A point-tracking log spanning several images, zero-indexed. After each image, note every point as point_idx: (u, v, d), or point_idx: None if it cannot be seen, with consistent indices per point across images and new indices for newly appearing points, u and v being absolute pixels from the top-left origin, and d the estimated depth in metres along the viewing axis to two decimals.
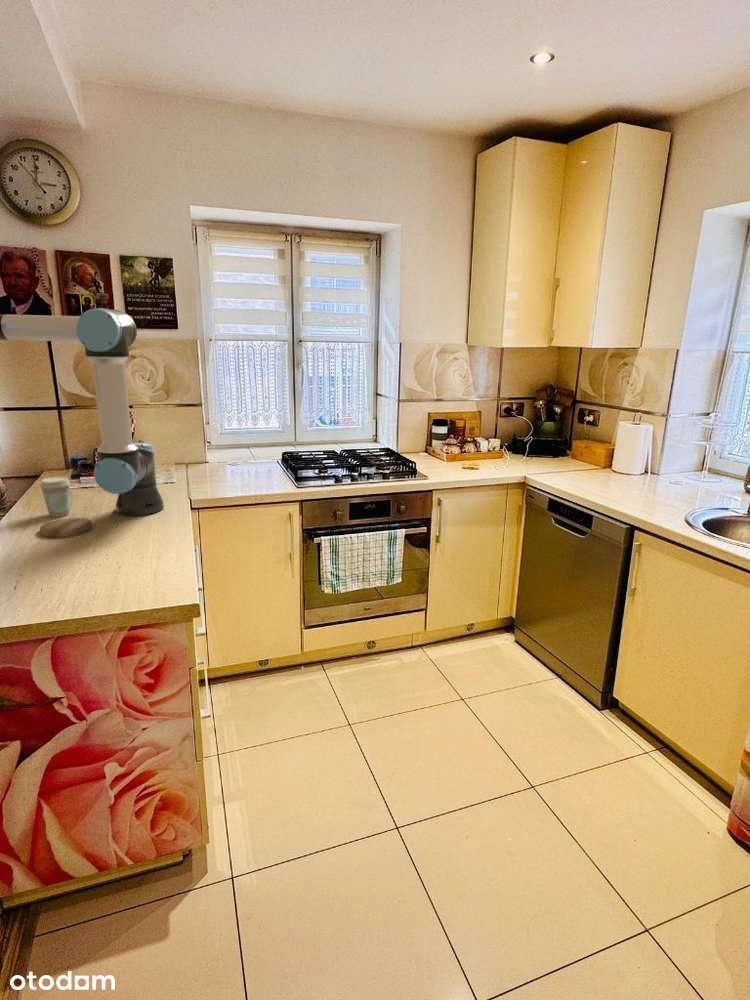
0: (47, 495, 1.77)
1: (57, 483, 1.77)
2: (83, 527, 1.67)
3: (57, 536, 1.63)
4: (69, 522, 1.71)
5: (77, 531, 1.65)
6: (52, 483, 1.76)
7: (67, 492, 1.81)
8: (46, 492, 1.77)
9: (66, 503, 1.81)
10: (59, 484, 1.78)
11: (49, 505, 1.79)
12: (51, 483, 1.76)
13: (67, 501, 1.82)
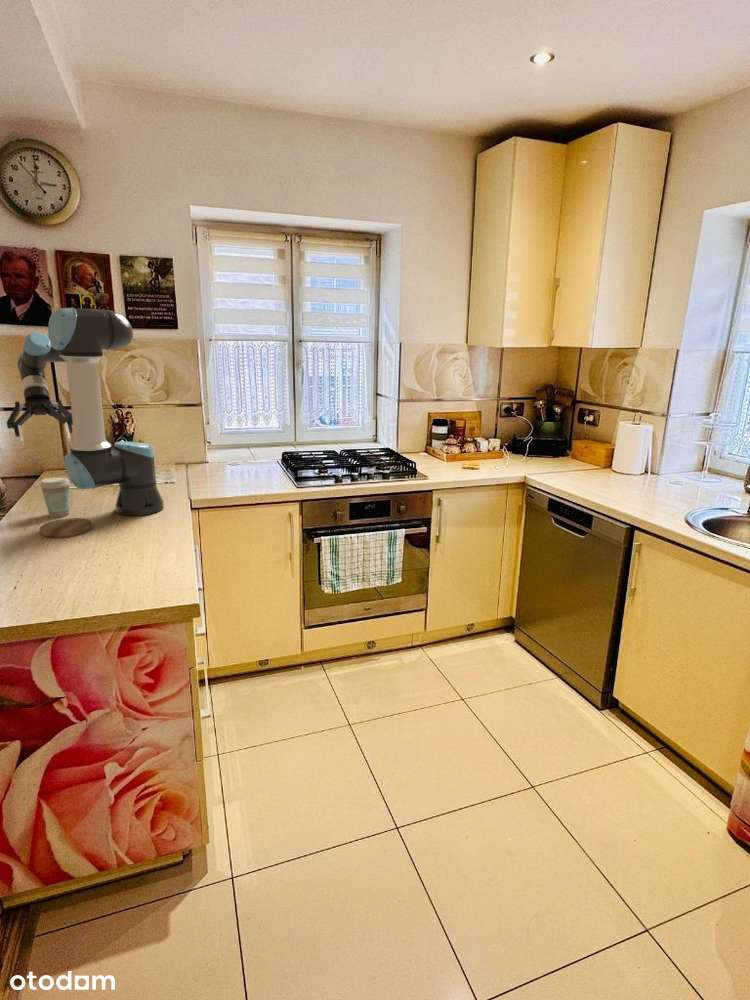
0: (47, 495, 1.77)
1: (57, 483, 1.77)
2: (83, 527, 1.67)
3: (57, 536, 1.63)
4: (69, 522, 1.71)
5: (77, 531, 1.65)
6: (52, 483, 1.76)
7: (67, 492, 1.81)
8: (46, 492, 1.77)
9: (66, 503, 1.81)
10: (59, 484, 1.78)
11: (49, 505, 1.79)
12: (51, 483, 1.76)
13: (67, 501, 1.82)
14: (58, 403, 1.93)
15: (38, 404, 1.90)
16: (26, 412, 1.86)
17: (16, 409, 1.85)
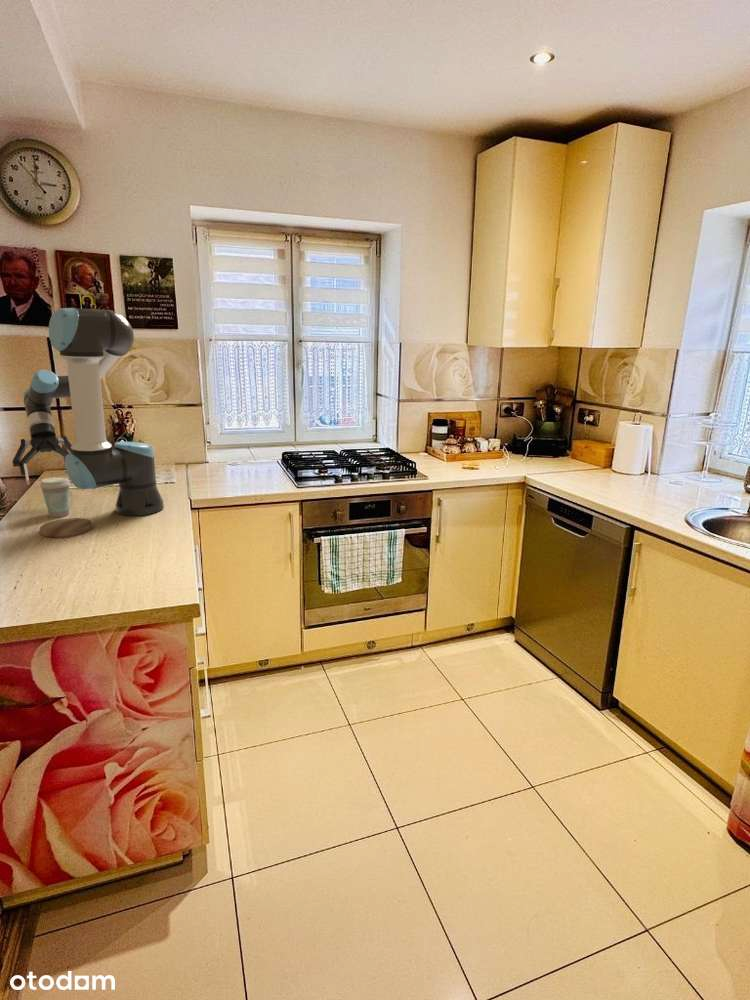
0: (47, 495, 1.77)
1: (57, 483, 1.77)
2: (83, 527, 1.67)
3: (57, 536, 1.63)
4: (69, 522, 1.71)
5: (77, 531, 1.65)
6: (52, 483, 1.76)
7: (67, 492, 1.81)
8: (46, 492, 1.77)
9: (66, 503, 1.81)
10: (59, 484, 1.78)
11: (49, 505, 1.79)
12: (51, 483, 1.76)
13: (67, 501, 1.82)
14: (64, 439, 1.92)
15: (44, 441, 1.89)
16: (32, 450, 1.85)
17: (22, 447, 1.84)
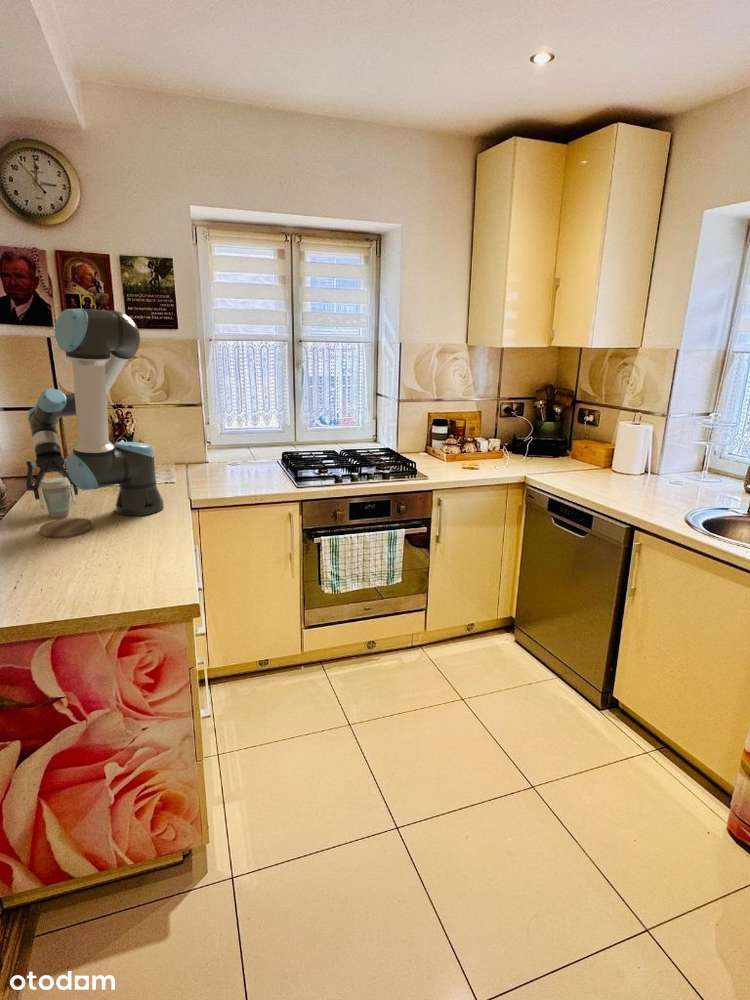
0: (47, 495, 1.77)
1: (57, 483, 1.77)
2: (83, 527, 1.67)
3: (57, 536, 1.63)
4: (69, 522, 1.71)
5: (77, 531, 1.65)
6: (52, 483, 1.76)
7: (67, 492, 1.81)
8: (46, 492, 1.77)
9: (66, 503, 1.81)
10: (59, 484, 1.78)
11: (49, 505, 1.79)
12: (51, 483, 1.76)
13: (67, 501, 1.82)
14: None
15: (49, 461, 1.84)
16: (41, 471, 1.81)
17: (30, 469, 1.80)
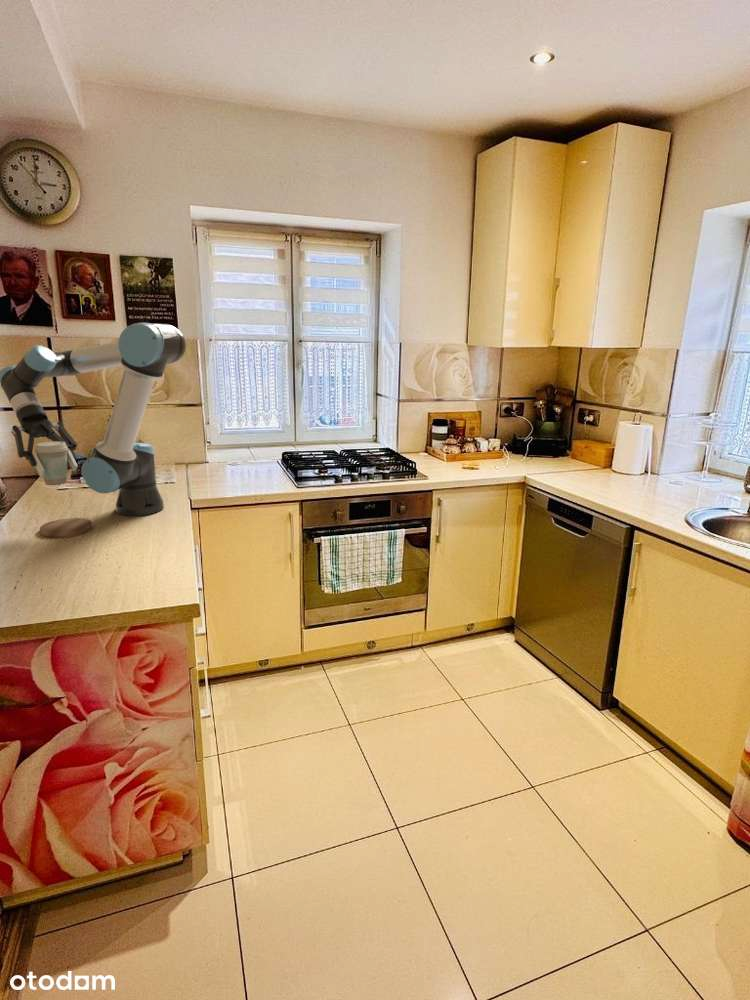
0: (46, 460, 1.61)
1: (57, 446, 1.62)
2: (83, 527, 1.67)
3: (57, 536, 1.63)
4: (69, 522, 1.71)
5: (77, 531, 1.65)
6: (52, 446, 1.61)
7: (66, 457, 1.65)
8: (44, 457, 1.61)
9: (65, 469, 1.66)
10: (60, 447, 1.62)
11: (48, 472, 1.62)
12: (51, 446, 1.60)
13: (66, 467, 1.66)
14: (59, 424, 1.71)
15: (37, 425, 1.67)
16: (31, 436, 1.63)
17: (19, 434, 1.61)
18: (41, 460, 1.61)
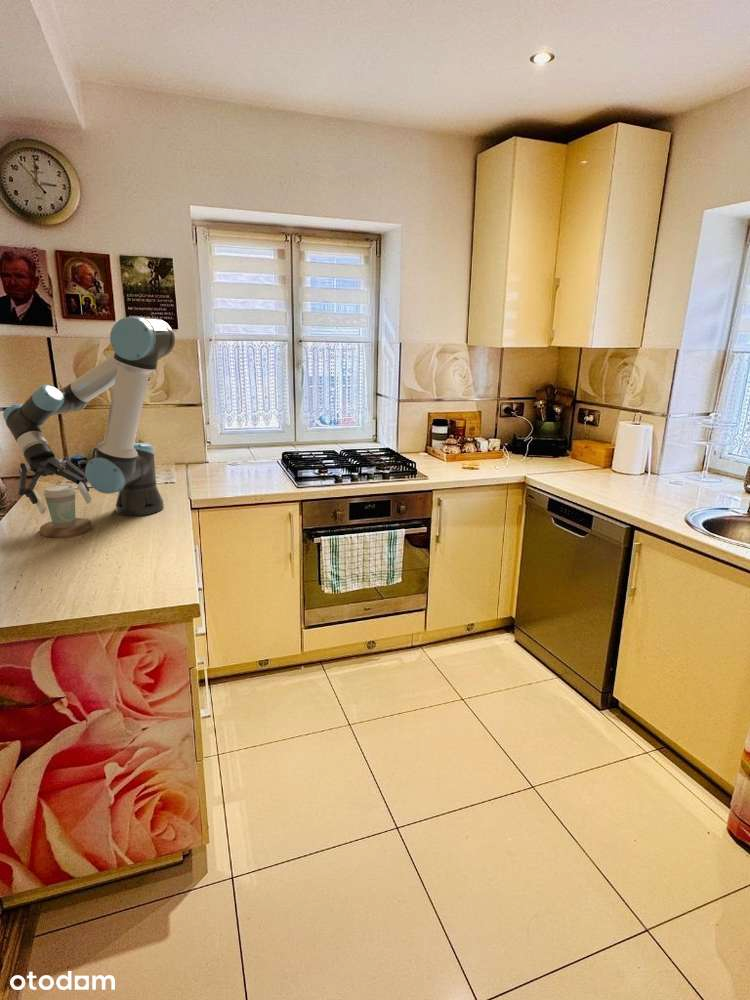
0: (56, 504, 1.63)
1: (67, 491, 1.64)
2: (83, 527, 1.67)
3: (57, 536, 1.63)
4: None
5: (77, 531, 1.65)
6: (62, 491, 1.63)
7: (74, 500, 1.68)
8: (54, 501, 1.63)
9: (74, 512, 1.68)
10: (69, 491, 1.64)
11: (57, 516, 1.64)
12: (61, 491, 1.63)
13: (74, 510, 1.68)
14: (65, 460, 1.73)
15: (45, 464, 1.68)
16: (36, 474, 1.64)
17: (25, 472, 1.62)
18: (50, 504, 1.63)
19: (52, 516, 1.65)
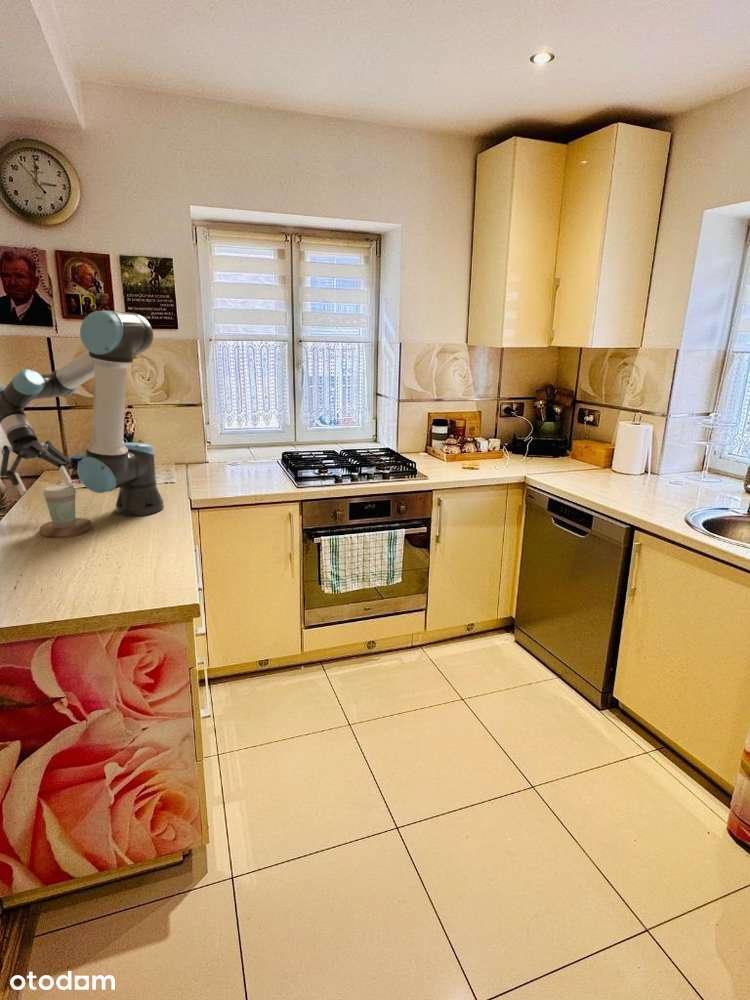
0: (56, 504, 1.63)
1: (67, 491, 1.64)
2: (83, 527, 1.67)
3: (57, 536, 1.63)
4: None
5: (77, 531, 1.65)
6: (62, 491, 1.63)
7: (74, 500, 1.68)
8: (54, 501, 1.63)
9: (74, 512, 1.68)
10: (69, 491, 1.64)
11: (57, 516, 1.64)
12: (61, 491, 1.63)
13: (74, 510, 1.68)
14: (48, 444, 1.78)
15: (28, 447, 1.74)
16: (18, 457, 1.70)
17: (7, 454, 1.68)
18: (50, 504, 1.63)
19: (52, 516, 1.65)
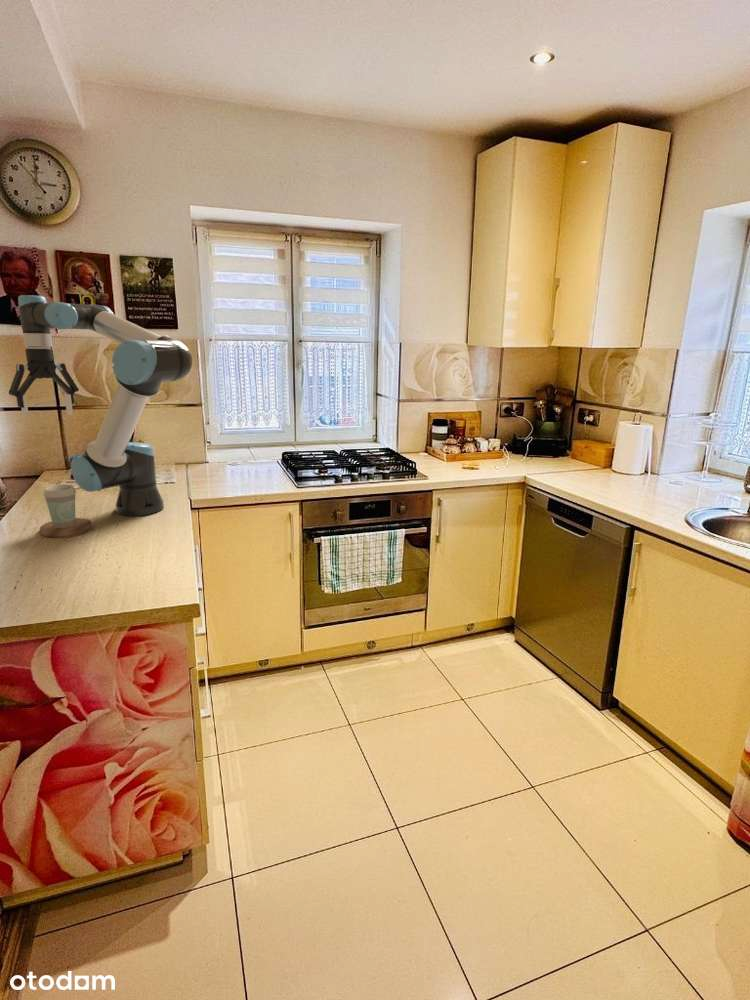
0: (56, 504, 1.63)
1: (67, 491, 1.64)
2: (83, 527, 1.67)
3: (57, 536, 1.63)
4: None
5: (77, 531, 1.65)
6: (62, 491, 1.63)
7: (74, 500, 1.68)
8: (54, 501, 1.63)
9: (74, 512, 1.68)
10: (69, 491, 1.64)
11: (57, 516, 1.64)
12: (61, 491, 1.63)
13: (74, 510, 1.68)
14: (62, 368, 1.79)
15: (43, 368, 1.75)
16: (31, 379, 1.73)
17: (21, 375, 1.70)
18: (50, 504, 1.63)
19: (52, 516, 1.65)
